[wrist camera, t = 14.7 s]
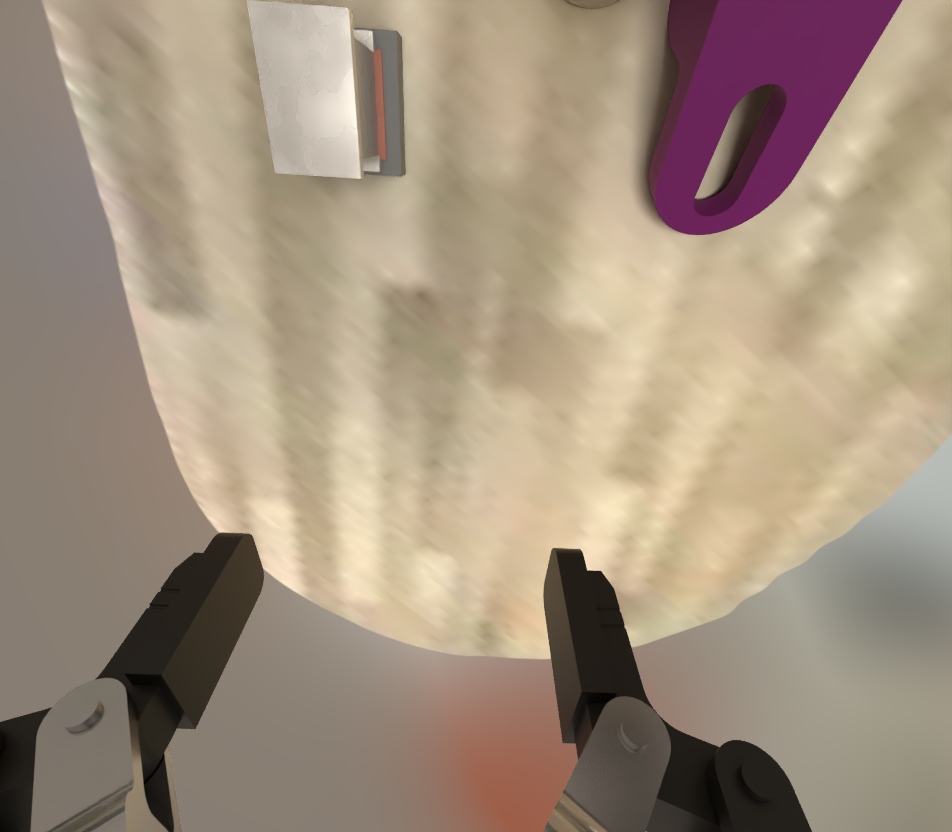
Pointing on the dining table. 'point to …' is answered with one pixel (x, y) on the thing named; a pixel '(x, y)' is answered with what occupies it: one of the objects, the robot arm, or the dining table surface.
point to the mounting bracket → (742, 70)
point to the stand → (390, 102)
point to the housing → (317, 89)
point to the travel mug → (592, 3)
